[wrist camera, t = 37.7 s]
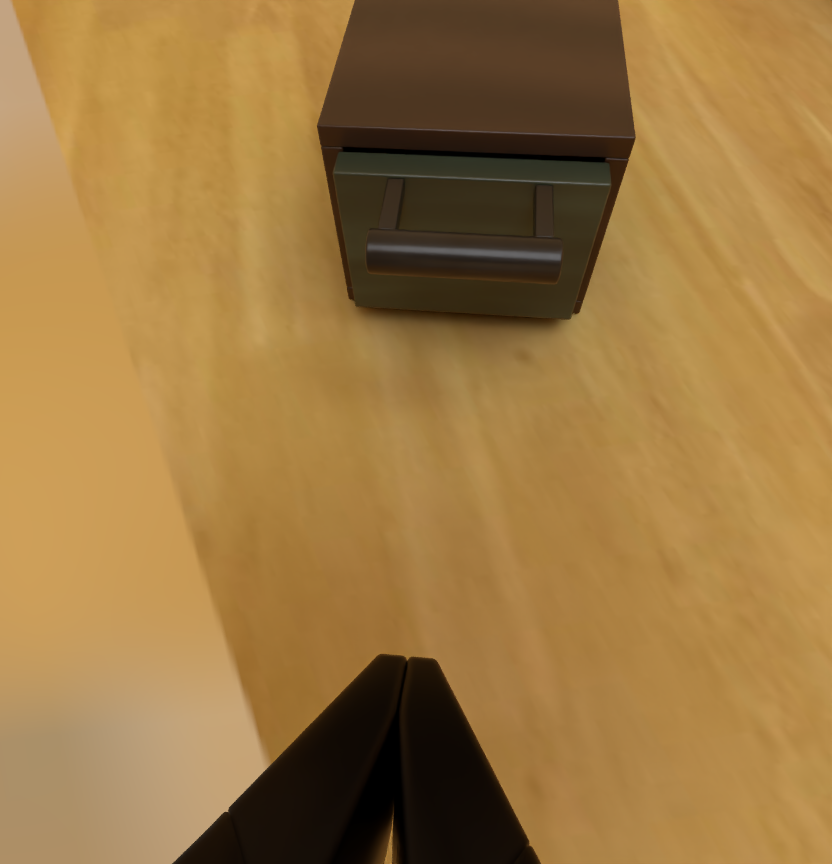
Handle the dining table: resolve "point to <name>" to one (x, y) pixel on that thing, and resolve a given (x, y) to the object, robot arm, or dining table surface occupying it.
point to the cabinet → (482, 86)
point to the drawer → (469, 230)
